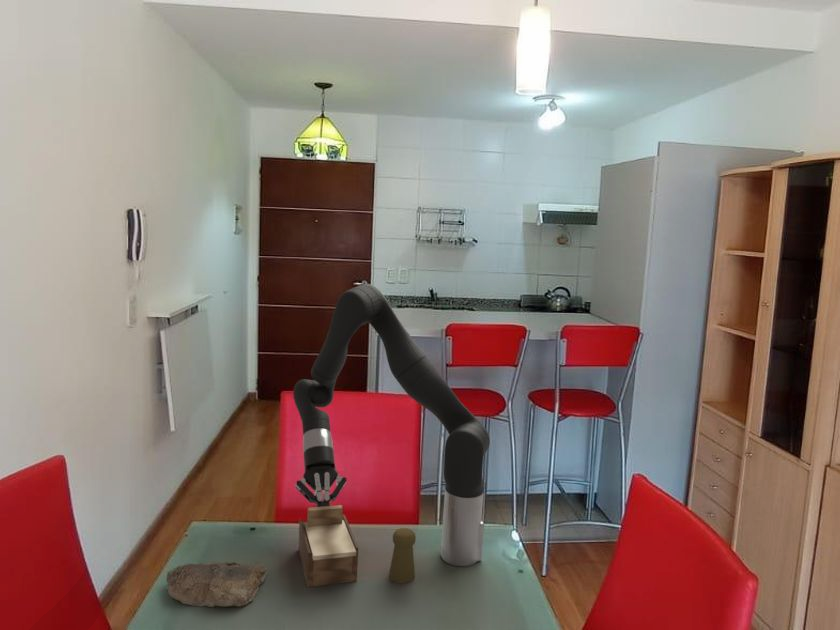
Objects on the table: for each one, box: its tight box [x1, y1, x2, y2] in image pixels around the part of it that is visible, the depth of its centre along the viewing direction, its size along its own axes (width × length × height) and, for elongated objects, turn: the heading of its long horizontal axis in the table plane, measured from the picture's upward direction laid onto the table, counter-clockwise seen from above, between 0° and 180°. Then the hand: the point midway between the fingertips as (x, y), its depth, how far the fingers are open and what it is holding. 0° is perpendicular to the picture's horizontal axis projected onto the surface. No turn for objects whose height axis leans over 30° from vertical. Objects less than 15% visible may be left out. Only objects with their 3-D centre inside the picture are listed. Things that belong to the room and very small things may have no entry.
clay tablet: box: [166, 561, 268, 608], centre depth 137 cm, size 14×5×20 cm
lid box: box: [298, 514, 359, 588], centre depth 149 cm, size 11×16×8 cm
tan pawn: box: [388, 527, 417, 584], centre depth 146 cm, size 6×6×11 cm
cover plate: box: [304, 504, 356, 560], centre depth 146 cm, size 9×15×5 cm, turn 18°
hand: (324, 518), depth 154 cm, fingers closed
